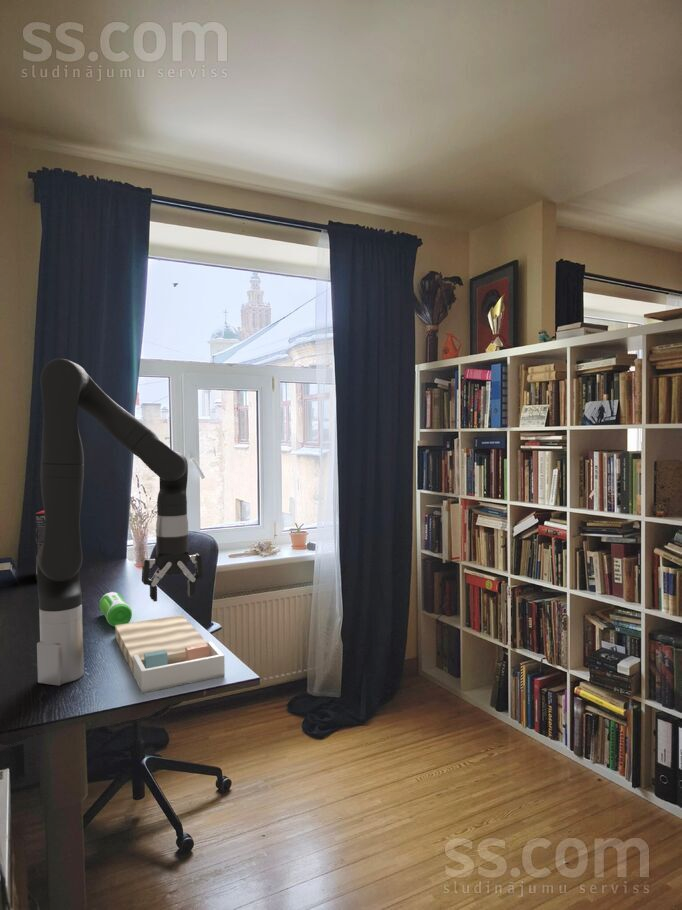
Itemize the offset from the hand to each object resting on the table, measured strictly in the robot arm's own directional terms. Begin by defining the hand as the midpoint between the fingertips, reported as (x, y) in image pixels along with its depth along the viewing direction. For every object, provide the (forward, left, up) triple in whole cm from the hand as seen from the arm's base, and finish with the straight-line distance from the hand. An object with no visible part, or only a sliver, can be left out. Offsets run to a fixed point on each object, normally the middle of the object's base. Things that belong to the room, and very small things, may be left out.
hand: (172, 598), depth 146 cm
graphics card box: (+68, +99, -18) cm, 122 cm away
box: (-3, -3, -18) cm, 18 cm away
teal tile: (-4, +3, -14) cm, 15 cm away
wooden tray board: (+11, +11, -18) cm, 23 cm away
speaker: (+28, +38, -18) cm, 50 cm away
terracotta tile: (+2, -5, -14) cm, 15 cm away
